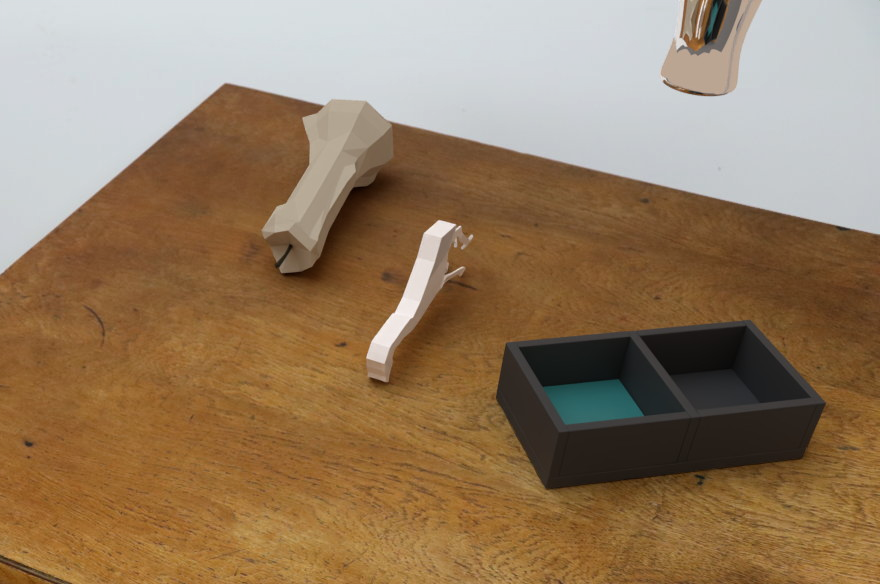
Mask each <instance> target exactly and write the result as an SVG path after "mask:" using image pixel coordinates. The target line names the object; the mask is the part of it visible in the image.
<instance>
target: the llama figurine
mask: <svg viewBox="0 0 880 584" xmlns="http://www.w3.org/2000/svg"><path fill="white" fill-rule="evenodd" d="M473 238H474V235H473V234H470V235H469V237H468V236H466V235H465V234H464V233H463V227H462V225H457V224H456V223H453V222H449V221H444V220H441V219H438V220H437V221H436V222H435V223H434V224H433V225H431V226H430V227H429V228H428V229H427V230H426V231H425V232H423V234H422V238H421V242H420V245H419V249H418V252H417V256H416V259H415V261H414V263H413V267H412V270H411V272H410V275H409V278H408V281H407V283H406V287H405V289H404V292H403V294H402V297H401V299H400V302H399V303H398V305H397V307H396V310H395V311H394V312H392V313H391V314H390V316H389V317H388V319H387V320H386V321H385V323H383V325H382V326H381V328H380V329H379V331H378V332H377V333H376V334H375V336H374V337H373V338H372V340H371V342H370V345H369V347H368V350H367V354H366V357H365V359H366V362H365V363H366V365H365V367H366V370H367V375H366V376H367V378H372V379H375V380H379V381H382V382H384V383H389V381H390V376H391V371H392V366H393V364H394V360H393V356H394V353H395V351H396V349H397V347H398V346H399V345H400V344H401V343H402V341H403V340H404V339H405V338H406V337H407V336H408V335H410V334H411V332H412V331H413V330H414V329H415V328H416V326H417V325H418V323H419V322H420V321H421V319H422V317H423V316H424V315H425V313H426V311H427V310H428V309H429V307H430V305H431V303H432V302H433V300H434V299H435V297H436V296H437V294H438V293H439V292H440V291H441V290H442V289H443V286H444V284H445V283H446V282H448V281H449V280H451V279H453V278H454V277H456V276H457V275H458V277H459V278H461V277H462V275H463V274H464V272H465V271H466V269H467V267H465V266H463V265H462V266H460V267H458V268H457V269H455V270H453V271H452V272H450V273H448V269H449V265H450V262H449V259H448V258H449V252H450V250H451V247H452V244H453V248H458V241H459V242H460V243H461V244H463V245H462V246H461V247H460V249H461V250H463V251H464V249H466V248H467V247H468V245H469V244H470V243H471V241H472V240H473Z"/></svg>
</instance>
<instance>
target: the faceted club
mask: <svg viewBox="0 0 880 584" xmlns="http://www.w3.org/2000/svg"><path fill="white" fill-rule="evenodd" d="M301 118H302V123H303V127H304V129H305V133H306V137H307V139H308V142H309V158H308V159H309V163H308V164H309V165H308V166H307V167H306V169H305V171H304V173H303V174H302V176H301V177H300V178H299V181H298V183H297V184H296V186H295V187H294V189H293V190H292V191H291V194H290V196H289V197H288V199H287V201H286V203H282V204H280V205H277V206H276V207H275V209H274V210H273V212H272V213H271V215H270V217H268V220H267V221H266V223H265V224H264V226H263V228H262V229H261V234H262V236H263V239H264V240H265V242H266V243H267V245H268V246H269V247H270V250H271V253H272V254H273V257H274V259H275V264H274V267H275V269H279V272H280V273H281V274H286V273H287V274H288V273H298V272H304V271H305V270H307V269H309V268H313V266H314V264H315V263H316V261H318V259H319V258H321V255H322V252H323V249H324V246H325V244H326V240H327V237H328V234H329V231H330V229H331V228H332V226H333V223H334V222H335V220H336V218H337V216H338V214H339V213H340V211H341V208H343V206H344V204H345V202H346V200H347V198H348V196H349V195H350V193H351V191H352V190H353V189H354V188H358V187H360V188H361V187H368V186H369V185H371V184H372V183H374V182H375V179H376V177H377V175H378V173H379V172H380V171H381V170H382V169H383V168H384V167H385V166H386V165H388V163H390V161H392V160H393V159H394V158H395V155H394V153H395V152H394V134H393V125H392V124H391V123H390V122H389V121H388V120H387V118H385V117H384V116H383V115H382V114H381V113H379V112H378V110H377V109H376V108H375V107H374V106H373V105H372V104H370V103H369V102H368V101H367V100H359V99H358V100H357V99H356V100H355V99H339V98H337V99H336V98H331V99H330V100H328V102H327V103H326V104H325V105H324V106H323V107H322V108H320V110H319V111H318V112H316V113H313V114H309V115H306V116H303V117H301Z"/></svg>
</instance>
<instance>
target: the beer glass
mask: <svg viewBox="0 0 880 584" xmlns="http://www.w3.org/2000/svg"><path fill="white" fill-rule="evenodd" d="M762 2H763V0H677V11H676V12H677V13H676V23H675V28H674V34H673V37H672V40H671V44H670V46H669V49H668V52H667V54H666V56H665V58H664V61H663V63H662V65H661V68H660V70H659V74H658V78H659V79H660V81H661V83H663V85H665V86H666V87H668V88H670V89H672V90H675V91H677V92H680V93H683V94H687V95H691V96H698V97H722V96H726V95H729V94H731V93H732V92H734V91H735V90H736V89H737V86H738V81H739V80H738V79H739V69H740V60H741V53H742V49H743V45H744V42H745V40H746V36H747V33H748V31H749V29H750V27H751V25H752V22H753V20H754V18H755V16H756V14H757V12H758V10H759V8H760V6H761V4H762Z"/></svg>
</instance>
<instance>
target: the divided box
mask: <svg viewBox="0 0 880 584" xmlns="http://www.w3.org/2000/svg"><path fill="white" fill-rule="evenodd" d="M495 399H496V401H497V403H498V404H499V407H500V408H501V410H502V412H503V413H504V415H505V417H506V420H507V421H508V422H509V424H510V426H511V428H512V430H513V432H514V433H515V435H516V438H517V439H518V441H519V442H520V445H521V447H522V449H523V451H524V452H525V454H526V455H527V457H528V459H529V461H530V463H531V464H532V467H533V468H534V470H535V472H536V474H537V476H538V477H539V479H540V482H541V483H542V485H543V487H544V489H545V490H549V489H557V488H559V489H560V488H567V487H576V486H583V485H590V484H591V485H592V484H600V483H608V482H615V481H623V480H624V481H625V480H632V479H641V478H649V477H656V476H666V475H674V474H681V473H682V474H684V473H691V472H700V471H707V470H715V469H716V470H717V469H724V468H732V467H741V466H742V467H743V466H749V465H757V464H765V463H767V464H768V463H774V462H775V463H776V462H782V461H783V462H784V461H790V460H791V461H792V460H799V459H803V458H804V456H805V454H806V451H807V450H808V449H807V448H808V447H809V444H810V442H811V440H812V438H813V435H814V433H815V431H816V428H817V426H818V424H819V421H820V419H821V416H822V414H823V413H824V410H825V407H826V404H827V402H826V400H825V399H824V398H823V397H822V396H821V395H820V394H819V393H818V392H817V391H816V390H815V389H814V387H813V386H812V385H811V384H810V383H809V382H808V381H807V379H805V378H804V376H803V375H802V374H801V373H800V372H799V370H797V369H796V368H795V366H793V364H792V363H791V362H790V361H789V360H788V359H787V358H786V357H785V356H784V355H783V353H782V352H781V351H779V349H778V348H777V347H776V346H775V345H774V344H773V343H772V341H771V340H770V339H769V338H768V337H767V336H766V335H765V334H764V333H763V331H762V330H761V329H760V328H759V327H758V326H757V325H756V324H755V323H754V322H753V320H751V319H742V320H732V321H722V322H712V323H700V324H691V325H690V324H689V325H679V326H669V327H668V326H667V327H657V328H649V329H638V330H637V329H636V330H625V331H622V330H621V331H614V332H601V333H593V334H592V333H591V334H590V333H589V334H582V335H580V334H579V335H570V336H560V337H549V338H538V339H537V338H536V339H528V340H527V339H526V340H519V341H518V340H516V341H506V342H505V346H504V351H503V355H502V361H501V365H500V371H499V377H498V383H497V389H496V393H495Z"/></svg>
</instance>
